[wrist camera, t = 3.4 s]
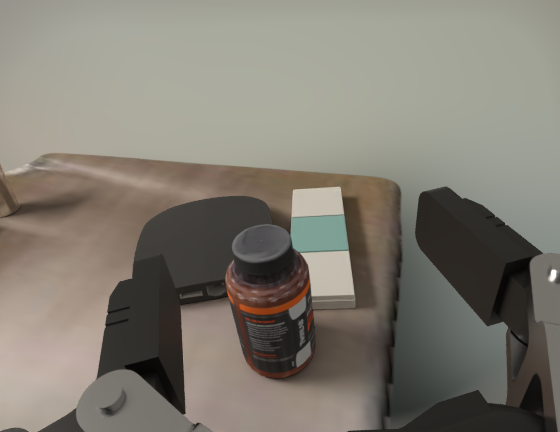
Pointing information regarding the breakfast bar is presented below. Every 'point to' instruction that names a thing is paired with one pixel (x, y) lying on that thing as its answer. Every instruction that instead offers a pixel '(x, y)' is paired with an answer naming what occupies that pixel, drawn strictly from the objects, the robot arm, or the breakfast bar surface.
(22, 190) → the breakfast bar surface
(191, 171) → the breakfast bar surface
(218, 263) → the media streaming box
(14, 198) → the milkshake
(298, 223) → the key strip
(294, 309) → the supplement bottle
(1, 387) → the breakfast bar surface
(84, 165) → the breakfast bar surface
